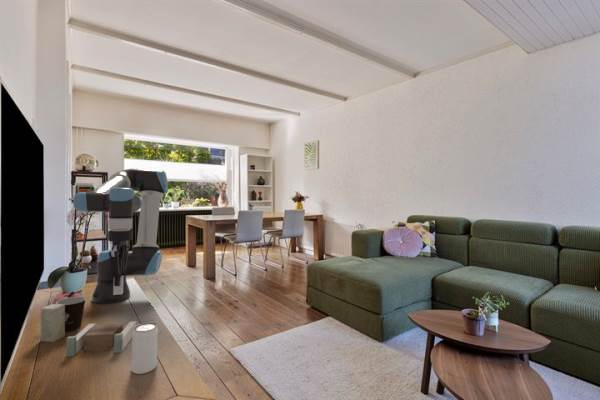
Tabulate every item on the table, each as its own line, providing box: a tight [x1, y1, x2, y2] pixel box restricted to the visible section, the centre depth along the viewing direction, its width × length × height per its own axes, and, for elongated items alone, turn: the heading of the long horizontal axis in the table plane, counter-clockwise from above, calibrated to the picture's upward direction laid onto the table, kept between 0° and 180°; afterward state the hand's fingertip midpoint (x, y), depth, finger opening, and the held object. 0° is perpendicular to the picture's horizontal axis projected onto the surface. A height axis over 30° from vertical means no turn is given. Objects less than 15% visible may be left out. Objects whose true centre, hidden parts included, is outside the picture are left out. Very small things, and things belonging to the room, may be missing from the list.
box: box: [40, 303, 66, 343], centre depth 99 cm, size 5×4×11 cm
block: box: [83, 323, 124, 352], centre depth 97 cm, size 8×8×5 cm
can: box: [130, 322, 159, 375], centre depth 84 cm, size 6×6×12 cm
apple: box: [53, 291, 84, 304], centre depth 117 cm, size 10×9×10 cm
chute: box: [65, 320, 137, 358], centre depth 97 cm, size 14×15×6 cm
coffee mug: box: [56, 296, 86, 333], centre depth 107 cm, size 12×9×10 cm
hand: (118, 293), depth 107 cm, fingers closed
